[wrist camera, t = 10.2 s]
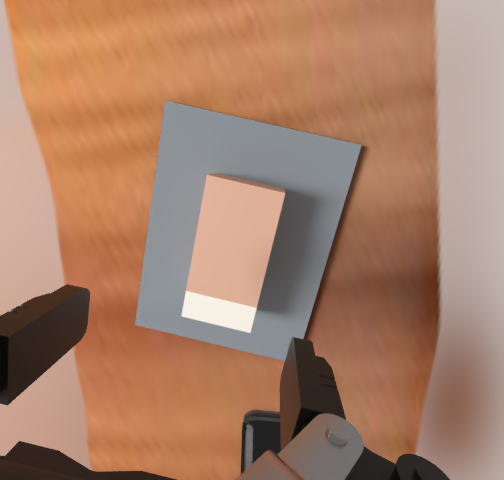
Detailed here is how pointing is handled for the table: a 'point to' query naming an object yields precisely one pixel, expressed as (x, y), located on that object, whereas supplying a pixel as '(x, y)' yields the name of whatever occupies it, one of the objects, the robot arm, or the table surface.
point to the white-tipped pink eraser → (231, 250)
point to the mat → (287, 233)
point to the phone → (259, 435)
